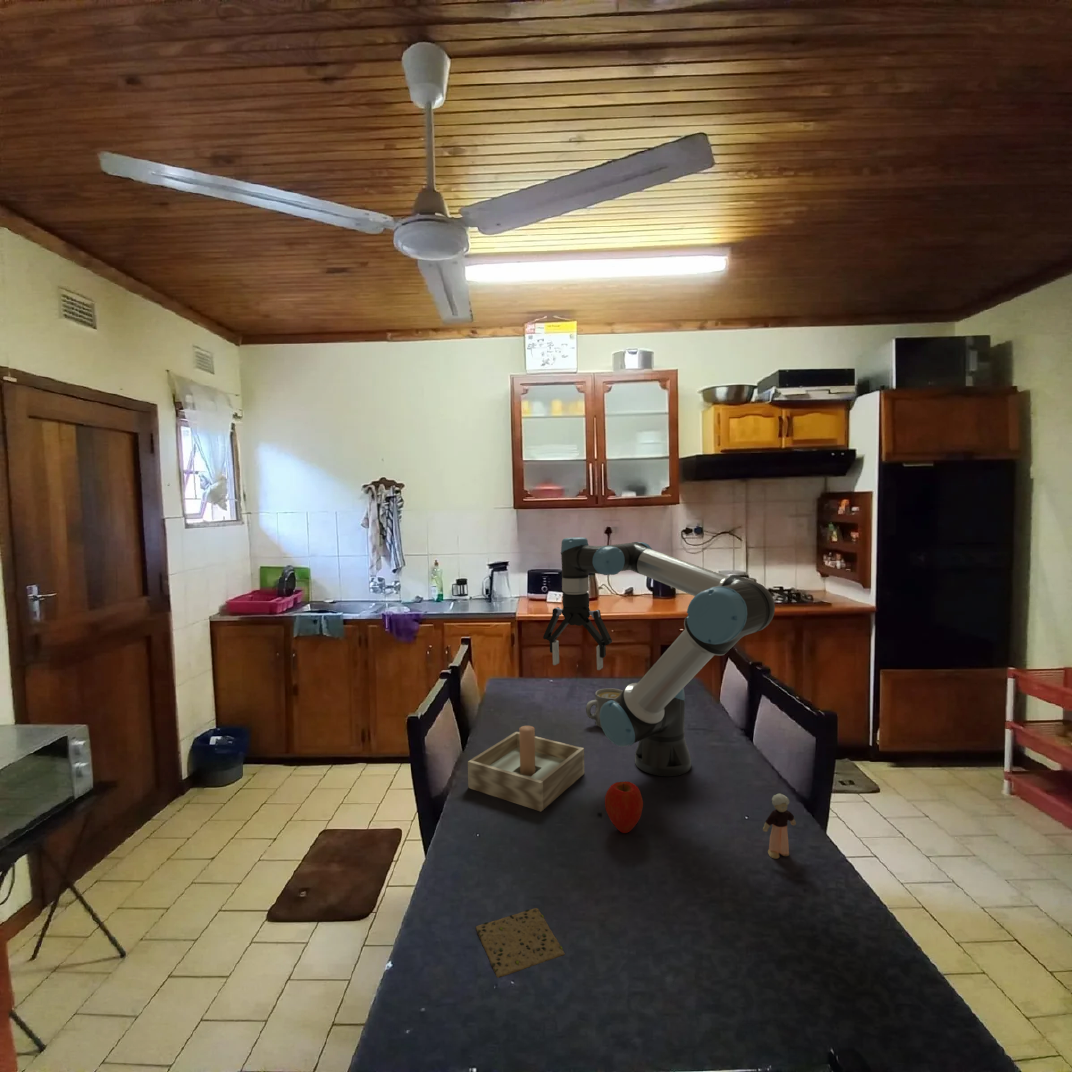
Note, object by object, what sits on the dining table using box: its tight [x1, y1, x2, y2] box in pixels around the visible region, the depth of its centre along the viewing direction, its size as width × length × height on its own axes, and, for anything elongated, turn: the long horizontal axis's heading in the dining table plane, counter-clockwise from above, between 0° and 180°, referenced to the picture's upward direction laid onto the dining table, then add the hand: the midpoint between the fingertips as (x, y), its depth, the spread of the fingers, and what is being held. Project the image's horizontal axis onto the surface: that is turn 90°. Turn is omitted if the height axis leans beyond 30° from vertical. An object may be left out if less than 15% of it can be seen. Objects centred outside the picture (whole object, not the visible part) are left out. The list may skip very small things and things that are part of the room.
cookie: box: [475, 907, 566, 979], centre depth 99 cm, size 12×12×1 cm
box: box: [467, 731, 585, 812], centre depth 154 cm, size 22×22×7 cm
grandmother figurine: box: [762, 793, 797, 860], centre depth 121 cm, size 8×4×13 cm, turn 117°
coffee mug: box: [585, 687, 623, 729], centre depth 191 cm, size 13×10×10 cm
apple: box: [604, 781, 644, 834], centre depth 130 cm, size 9×8×11 cm
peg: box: [518, 725, 536, 777], centre depth 154 cm, size 4×4×14 cm
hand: (577, 666), depth 167 cm, fingers open, 13 cm apart
